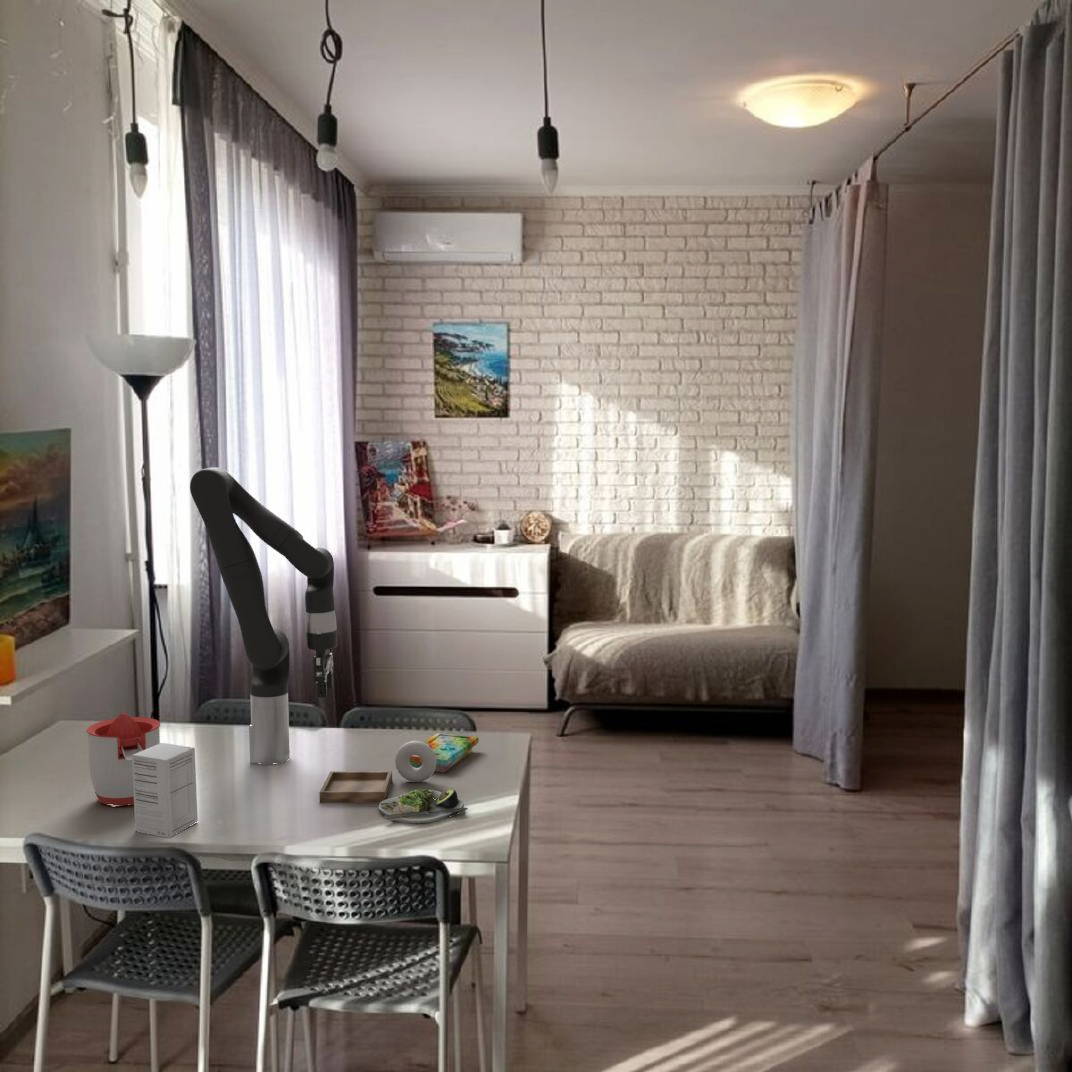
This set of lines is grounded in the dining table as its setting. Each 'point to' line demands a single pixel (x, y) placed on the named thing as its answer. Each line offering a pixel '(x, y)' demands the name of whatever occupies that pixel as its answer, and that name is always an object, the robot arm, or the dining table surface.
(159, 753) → the supplement box
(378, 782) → the display tray
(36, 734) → the dining table surface
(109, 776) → the citrus juicer
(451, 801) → the salad plate
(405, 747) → the white ring
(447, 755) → the puzzle game
